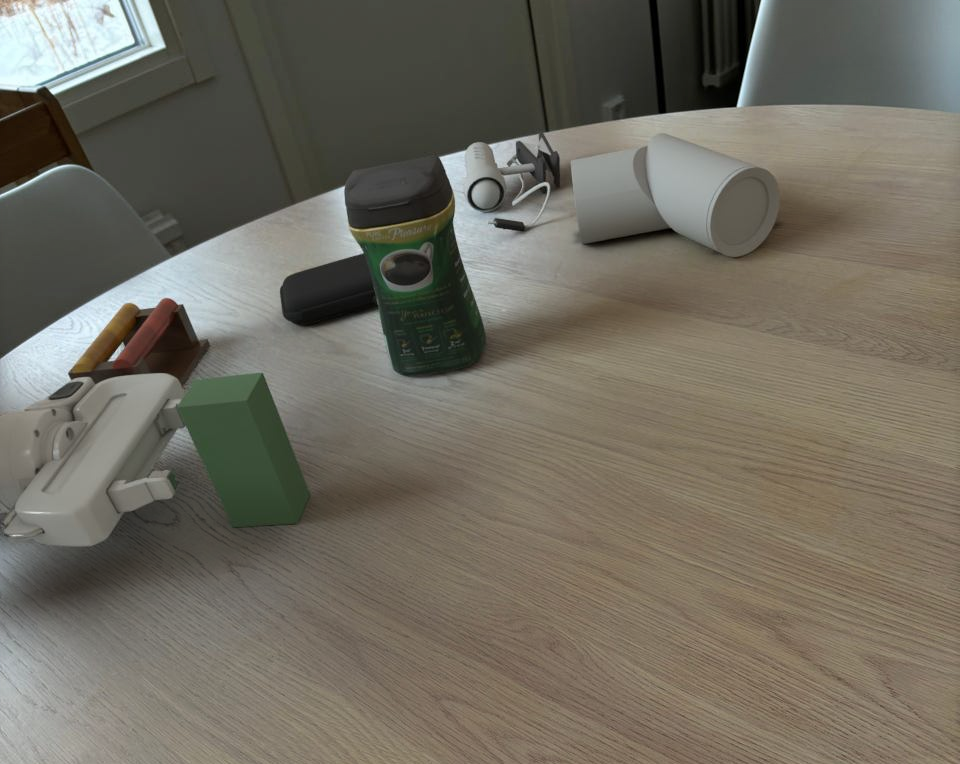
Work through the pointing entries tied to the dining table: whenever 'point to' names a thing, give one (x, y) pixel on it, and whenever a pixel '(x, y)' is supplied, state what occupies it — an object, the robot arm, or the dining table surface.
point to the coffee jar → (415, 265)
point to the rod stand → (144, 344)
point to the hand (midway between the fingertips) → (194, 449)
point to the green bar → (245, 449)
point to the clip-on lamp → (488, 181)
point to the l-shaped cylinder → (675, 195)
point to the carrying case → (327, 291)
